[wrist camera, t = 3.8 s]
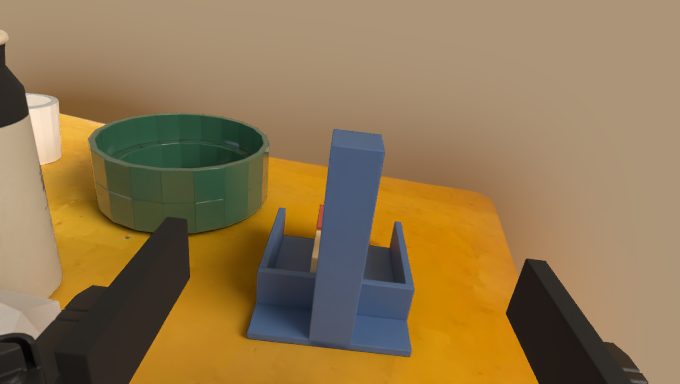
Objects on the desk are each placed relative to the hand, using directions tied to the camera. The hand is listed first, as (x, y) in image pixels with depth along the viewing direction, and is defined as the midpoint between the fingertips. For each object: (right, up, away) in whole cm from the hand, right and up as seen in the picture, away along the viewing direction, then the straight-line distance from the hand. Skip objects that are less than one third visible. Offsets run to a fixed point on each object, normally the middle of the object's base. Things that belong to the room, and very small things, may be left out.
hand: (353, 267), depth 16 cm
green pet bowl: (-18, +2, +30) cm, 35 cm away
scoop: (-1, -5, +19) cm, 20 cm away
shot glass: (-38, +7, +34) cm, 51 cm away
